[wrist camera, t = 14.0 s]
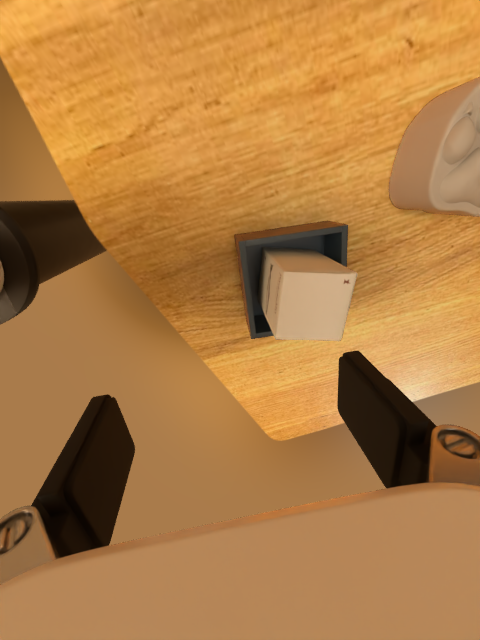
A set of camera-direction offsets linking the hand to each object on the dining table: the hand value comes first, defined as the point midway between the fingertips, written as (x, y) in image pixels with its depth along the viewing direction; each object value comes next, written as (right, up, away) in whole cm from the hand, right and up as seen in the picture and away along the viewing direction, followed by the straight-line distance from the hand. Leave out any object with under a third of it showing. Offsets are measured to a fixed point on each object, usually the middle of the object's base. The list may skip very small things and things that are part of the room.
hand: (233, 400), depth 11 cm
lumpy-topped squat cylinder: (+25, +24, +23) cm, 41 cm away
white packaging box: (+6, +10, +27) cm, 29 cm away
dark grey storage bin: (+6, +10, +27) cm, 29 cm away
